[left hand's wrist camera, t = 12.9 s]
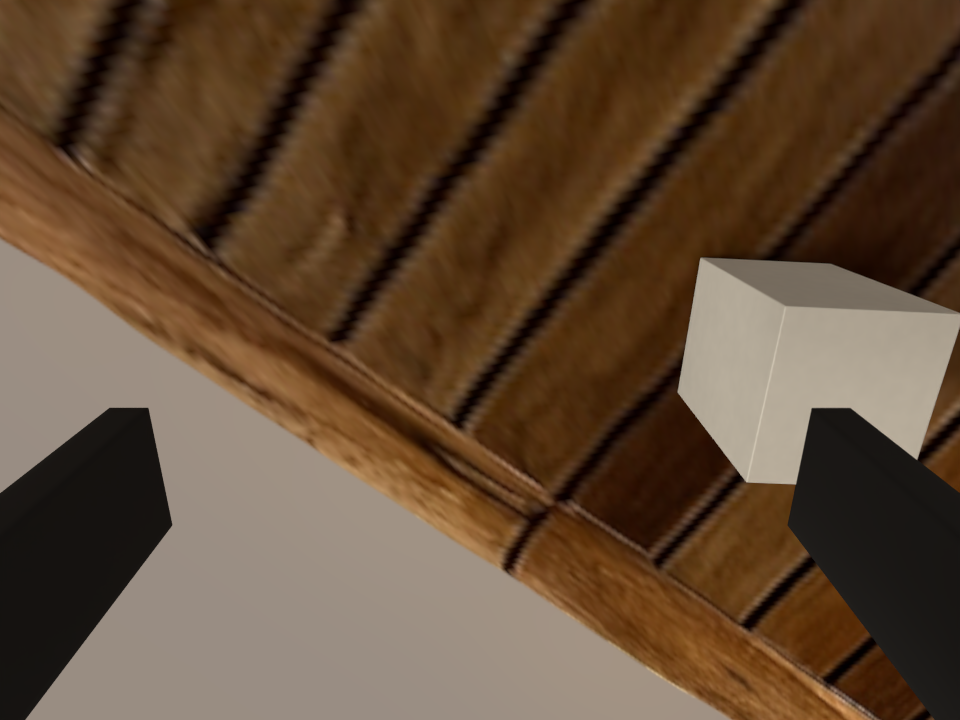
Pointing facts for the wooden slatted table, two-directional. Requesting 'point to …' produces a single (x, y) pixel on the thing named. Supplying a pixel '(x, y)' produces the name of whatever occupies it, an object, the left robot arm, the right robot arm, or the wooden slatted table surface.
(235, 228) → the wooden slatted table surface
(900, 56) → the wooden slatted table surface
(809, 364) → the brick
